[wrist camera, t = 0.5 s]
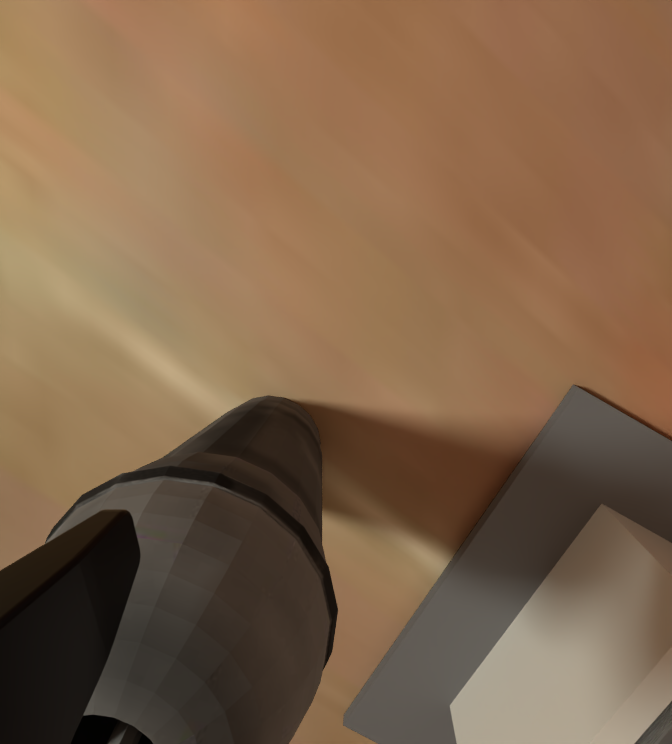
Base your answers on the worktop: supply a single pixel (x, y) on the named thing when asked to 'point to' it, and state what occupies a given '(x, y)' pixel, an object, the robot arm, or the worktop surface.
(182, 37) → the worktop surface
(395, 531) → the worktop surface
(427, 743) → the mat
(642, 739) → the knob on square plate
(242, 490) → the dark grey upright piece
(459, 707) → the white square tray
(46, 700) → the robot arm
